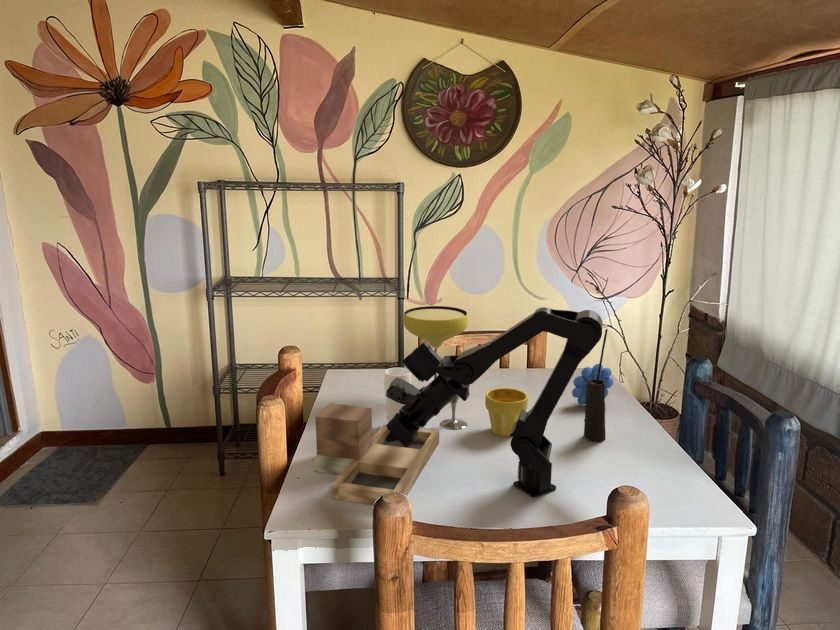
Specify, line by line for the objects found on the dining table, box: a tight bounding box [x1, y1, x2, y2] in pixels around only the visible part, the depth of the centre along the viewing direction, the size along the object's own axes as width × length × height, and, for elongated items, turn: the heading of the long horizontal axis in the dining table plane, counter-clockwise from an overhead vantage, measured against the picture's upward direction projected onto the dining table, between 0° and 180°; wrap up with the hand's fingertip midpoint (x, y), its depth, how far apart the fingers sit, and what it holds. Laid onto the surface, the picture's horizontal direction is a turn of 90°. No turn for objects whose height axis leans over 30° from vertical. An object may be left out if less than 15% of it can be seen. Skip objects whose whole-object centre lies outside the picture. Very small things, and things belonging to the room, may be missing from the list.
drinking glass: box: [383, 367, 412, 423], centre depth 162 cm, size 7×7×15 cm
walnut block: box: [314, 403, 373, 460], centre depth 143 cm, size 10×8×9 cm
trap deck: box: [313, 424, 440, 506], centre depth 143 cm, size 23×32×3 cm
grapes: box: [571, 363, 614, 406], centre depth 178 cm, size 12×7×12 cm, turn 97°
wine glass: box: [439, 395, 468, 431], centre depth 164 cm, size 8×8×15 cm
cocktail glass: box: [402, 305, 469, 404], centre depth 181 cm, size 18×18×25 cm
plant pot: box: [484, 387, 529, 438], centre depth 160 cm, size 10×10×10 cm
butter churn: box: [583, 328, 608, 443], centre depth 155 cm, size 9×10×28 cm
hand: (387, 440), depth 141 cm, fingers closed
